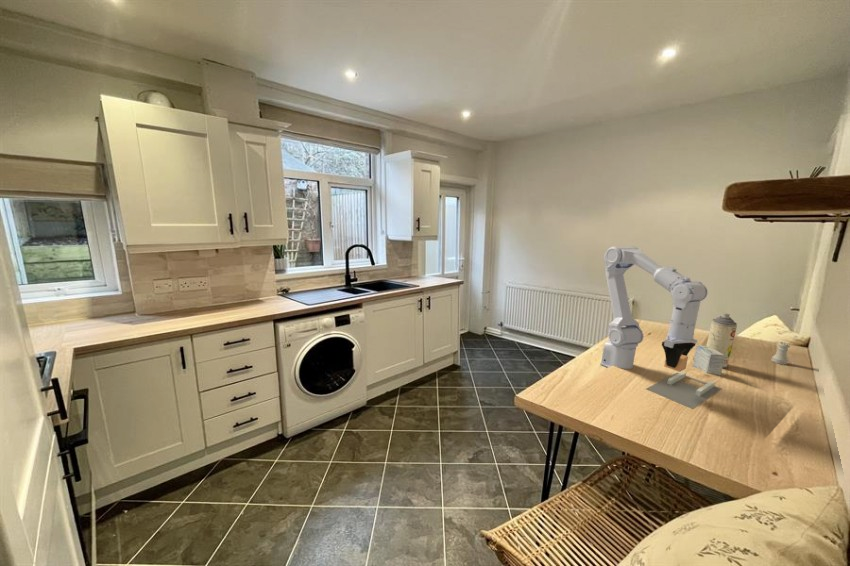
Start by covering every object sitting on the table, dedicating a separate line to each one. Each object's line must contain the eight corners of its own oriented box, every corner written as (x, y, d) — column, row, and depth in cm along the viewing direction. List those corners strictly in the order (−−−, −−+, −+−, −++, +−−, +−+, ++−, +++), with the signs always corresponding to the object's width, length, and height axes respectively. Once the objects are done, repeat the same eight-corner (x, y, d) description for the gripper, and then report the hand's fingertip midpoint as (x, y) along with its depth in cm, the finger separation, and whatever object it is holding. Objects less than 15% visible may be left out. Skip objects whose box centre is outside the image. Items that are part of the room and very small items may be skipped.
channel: (644, 393, 98) (646, 384, 98) (676, 376, 110) (677, 368, 109) (691, 413, 88) (694, 404, 88) (721, 392, 100) (723, 384, 99)
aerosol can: (727, 370, 115) (740, 317, 111) (702, 364, 120) (714, 313, 115) (726, 364, 120) (738, 313, 116) (703, 358, 125) (713, 309, 121)
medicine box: (720, 378, 109) (726, 355, 107) (705, 377, 110) (710, 354, 108) (705, 368, 116) (710, 346, 115) (691, 367, 117) (696, 345, 115)
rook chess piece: (775, 363, 122) (780, 344, 120) (768, 359, 126) (773, 340, 124) (790, 365, 120) (796, 346, 118) (783, 361, 124) (788, 342, 122)
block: (664, 366, 97) (666, 354, 96) (670, 363, 99) (672, 351, 98) (679, 371, 93) (682, 359, 92) (685, 368, 95) (688, 356, 95)
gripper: (689, 330, 86) (679, 376, 89) (709, 322, 94) (700, 364, 96) (659, 322, 92) (651, 366, 95) (681, 315, 99) (673, 356, 102)
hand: (674, 364), depth 96 cm, fingers closed on block, 4 cm apart
